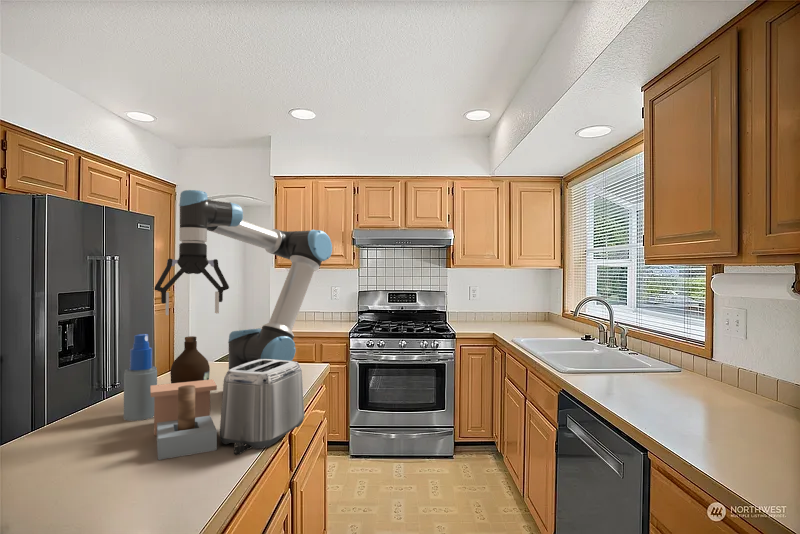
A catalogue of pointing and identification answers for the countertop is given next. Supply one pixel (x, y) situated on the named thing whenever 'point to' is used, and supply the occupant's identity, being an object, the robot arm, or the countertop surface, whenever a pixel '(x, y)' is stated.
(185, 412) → the peg
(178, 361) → the olive oil
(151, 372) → the spray bottle
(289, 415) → the toaster
